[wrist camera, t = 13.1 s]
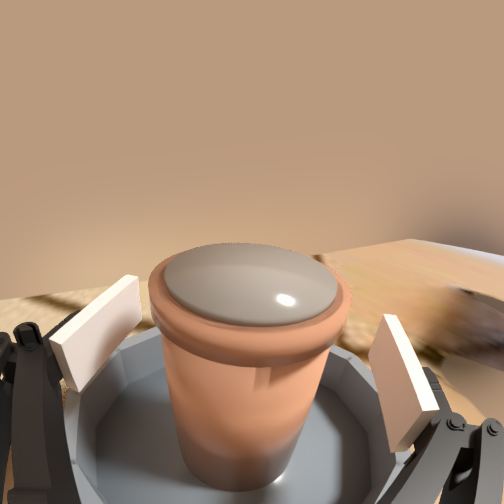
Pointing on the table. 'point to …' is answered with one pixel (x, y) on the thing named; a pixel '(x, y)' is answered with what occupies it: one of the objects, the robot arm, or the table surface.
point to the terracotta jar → (244, 354)
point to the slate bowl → (169, 454)
